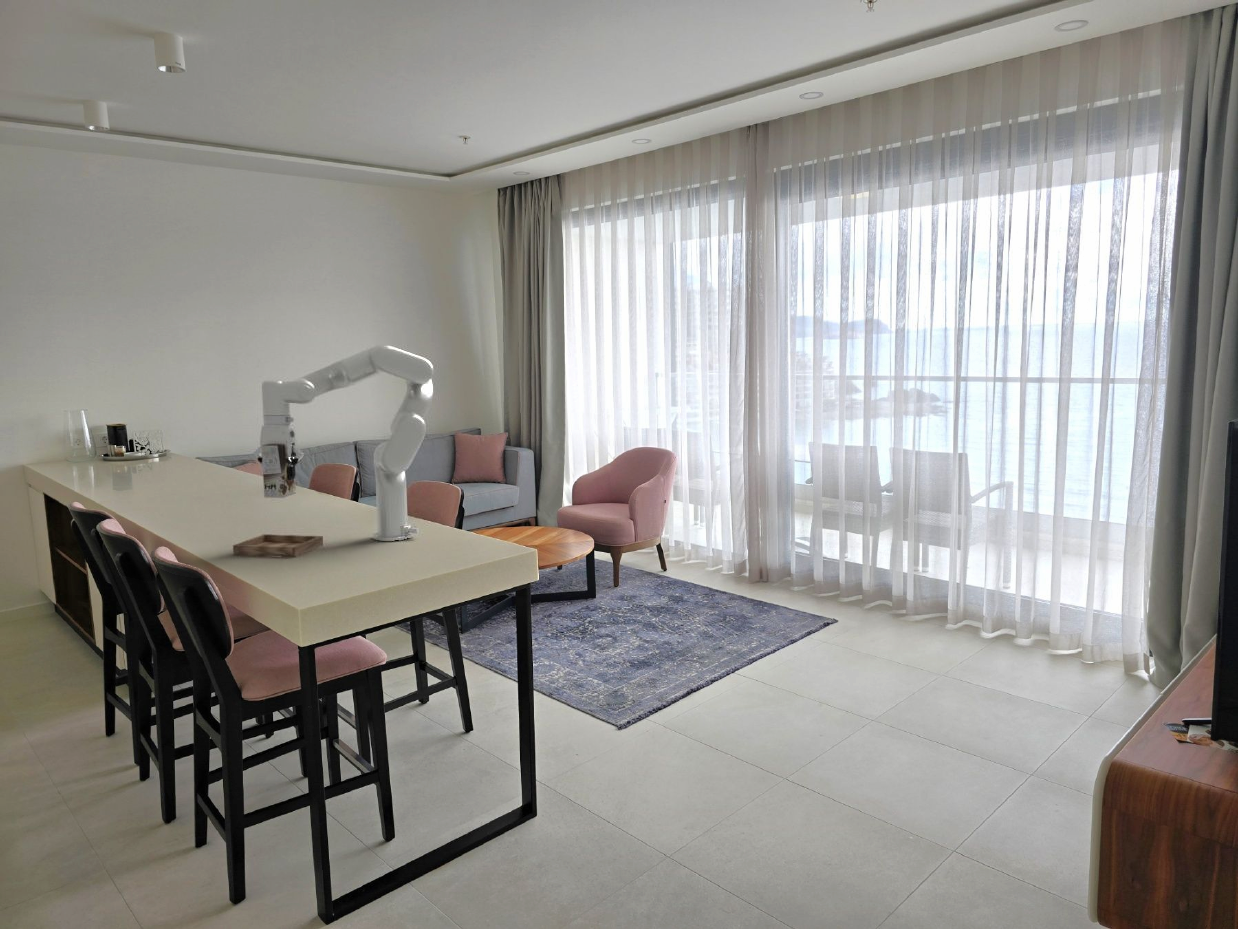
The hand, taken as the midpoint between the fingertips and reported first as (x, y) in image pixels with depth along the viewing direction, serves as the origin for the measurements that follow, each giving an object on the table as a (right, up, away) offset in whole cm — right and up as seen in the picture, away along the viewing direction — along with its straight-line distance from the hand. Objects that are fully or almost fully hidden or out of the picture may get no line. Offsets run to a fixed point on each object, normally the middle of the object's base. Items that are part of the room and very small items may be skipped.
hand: (279, 478), depth 249 cm
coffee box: (0, -5, +1) cm, 6 cm away
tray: (0, -22, 0) cm, 22 cm away
